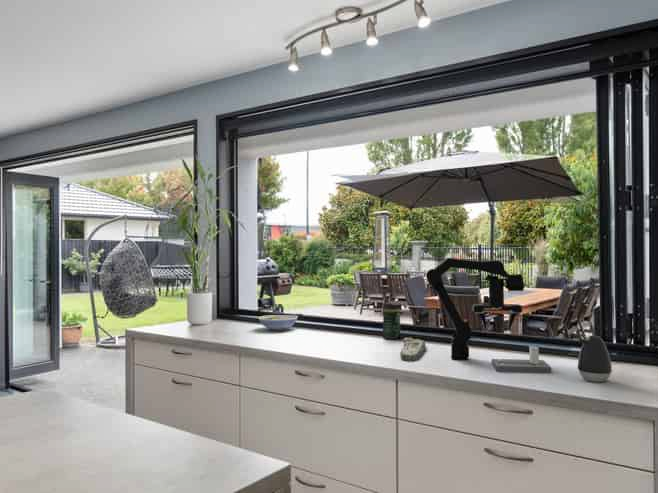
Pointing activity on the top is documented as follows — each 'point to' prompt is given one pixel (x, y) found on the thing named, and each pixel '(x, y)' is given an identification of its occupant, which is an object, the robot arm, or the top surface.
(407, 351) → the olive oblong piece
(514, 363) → the console
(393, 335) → the coffee jar
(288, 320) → the ramen bowl
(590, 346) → the dark grey speaker
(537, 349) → the white small cylinder
